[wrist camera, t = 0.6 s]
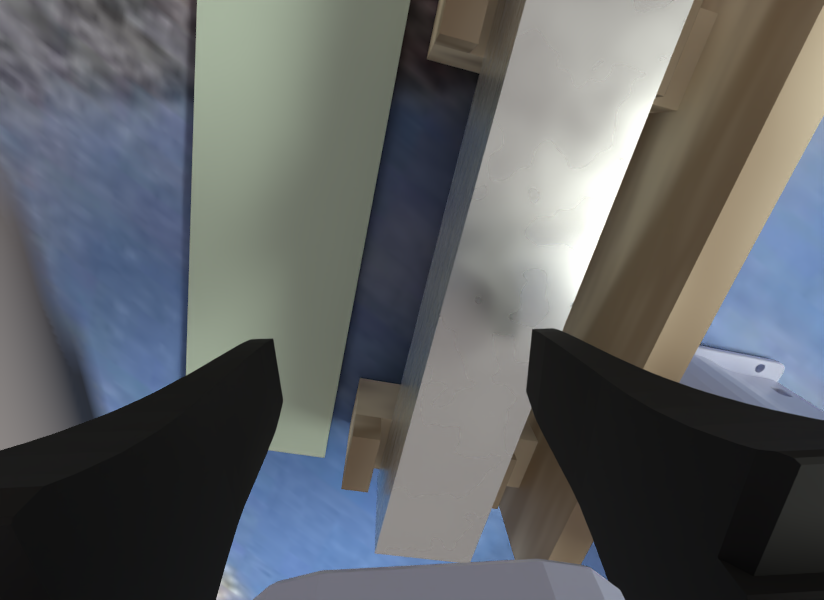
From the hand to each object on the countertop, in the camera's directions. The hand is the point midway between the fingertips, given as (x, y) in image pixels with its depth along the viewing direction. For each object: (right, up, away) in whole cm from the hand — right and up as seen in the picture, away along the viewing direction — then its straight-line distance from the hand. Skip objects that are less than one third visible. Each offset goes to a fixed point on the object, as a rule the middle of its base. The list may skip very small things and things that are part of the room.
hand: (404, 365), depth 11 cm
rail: (+3, +3, +5) cm, 6 cm away
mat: (-6, +5, +7) cm, 10 cm away
